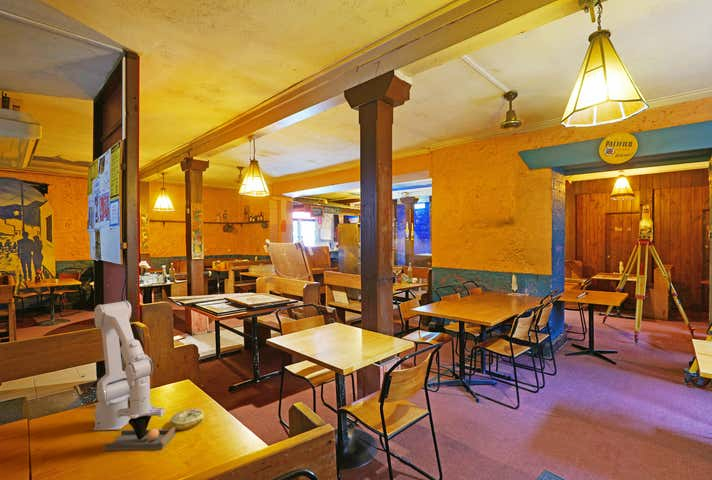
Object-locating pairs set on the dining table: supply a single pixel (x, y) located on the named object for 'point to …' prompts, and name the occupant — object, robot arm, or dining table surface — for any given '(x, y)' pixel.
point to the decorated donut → (186, 419)
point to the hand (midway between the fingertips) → (141, 437)
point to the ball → (152, 434)
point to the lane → (140, 441)
